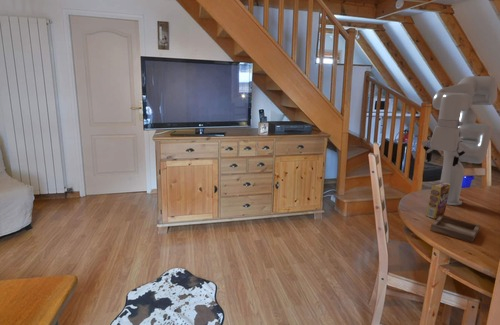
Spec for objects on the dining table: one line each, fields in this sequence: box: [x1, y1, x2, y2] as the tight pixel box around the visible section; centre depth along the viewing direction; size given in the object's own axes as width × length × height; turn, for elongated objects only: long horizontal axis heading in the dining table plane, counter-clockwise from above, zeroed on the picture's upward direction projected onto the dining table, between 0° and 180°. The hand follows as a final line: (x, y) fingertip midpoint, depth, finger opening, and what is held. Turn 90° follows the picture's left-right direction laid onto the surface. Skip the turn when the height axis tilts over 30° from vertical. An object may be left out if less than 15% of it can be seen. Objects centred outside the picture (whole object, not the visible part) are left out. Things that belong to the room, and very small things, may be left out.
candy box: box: [425, 182, 450, 220], centre depth 141 cm, size 9×4×15 cm, turn 123°
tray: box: [430, 215, 481, 244], centre depth 127 cm, size 14×14×2 cm
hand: (441, 163), depth 133 cm, fingers open, 9 cm apart
